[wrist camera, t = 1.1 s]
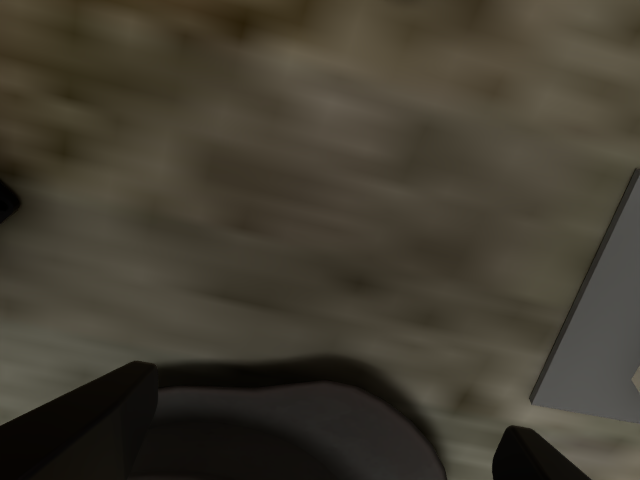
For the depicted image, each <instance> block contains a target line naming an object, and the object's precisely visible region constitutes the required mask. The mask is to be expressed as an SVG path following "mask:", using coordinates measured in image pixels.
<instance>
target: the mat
mask: <svg viewBox="0 0 640 480" xmlns="http://www.w3.org/2000/svg"><path fill="white" fill-rule="evenodd" d="M639 366H640V169H636V170H635V172H634V174H633V176H632V179H631V181H630V183H629V185H628V187H627V189H626V191H625V194H624V196H623V198H622V200H621V202H620V204H619V207H618V209H617V211H616V213H615V215H614V217H613V219H612V222H611V224H610V226H609V228H608V230H607V232H606V235H605V237H604V239H603V241H602V243H601V245H600V247H599V250H598V252H597V254H596V256H595V258H594V260H593V263H592V265H591V267H590V269H589V271H588V273H587V275H586V278H585V280H584V282H583V284H582V286H581V288H580V290H579V293H578V295H577V297H576V299H575V301H574V303H573V306H572V308H571V310H570V312H569V314H568V316H567V318H566V321H565V323H564V325H563V327H562V329H561V331H560V334H559V336H558V338H557V340H556V342H555V344H554V346H553V349H552V351H551V353H550V355H549V357H548V359H547V362H546V364H545V366H544V368H543V370H542V372H541V374H540V377H539V379H538V381H537V383H536V385H535V387H534V390H533V392H532V394H531V396H530V398H529V399H530V402H531V405H537V406H542V407H548V408H554V409H559V410H565V411H571V412H576V413H582V414H588V415H593V416H599V417H605V418H610V419H616V420H622V421H627V422H633V423H639V424H640V393H639V391H638V390H637V388H636V386H635V385H634V383H633V382H632V380H631V379H632V378H633V376H634V374H635V372H636V371H637V369H638V367H639Z"/></svg>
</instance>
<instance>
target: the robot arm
mask: <svg viewBox="0 0 640 480" xmlns="http://www.w3.org/2000/svg"><path fill="white" fill-rule="evenodd" d="M2 201H4V202H6V204H7V205H8V207H7V206H5V205H4V204H3V202H2ZM18 208H19V202H18V199H17V198H16V197H15V196H14V195H13V194H12V193H11V192H10V191H9V190H8V189H7V188H6V187H5V186H4V185H3V184H2V183H1V182H0V225H1V224H2V223H3V222H4V221H5V220H7V219H8V218H9V217H10V216H11V215H12V214H14V213H15V212H16V211H17V210H18ZM157 404H158V369H157V366H156V365H155V364H153V363H148V362H142V361H133V362H130V363H128V364H126V365H124V366H122V367H120V368H118V369H116V370H114V371H112V372H110V373H107V374H105V375H103V376H101V377H99V378H97V379H95V380H93V381H91V382H89V383H87V384H85V385H83V386H81V387H79V388H77V389H75V390H73V391H71V392H69V393H66V394H64V395H62V396H60V397H58V398H56V399H54V400H52V401H50V402H48V403H46V404H44V405H42V406H40V407H38V408H36V409H34V410H32V411H30V412H28V413H25V414H23V415H21V416H19V417H17V418H15V419H13V420H11V421H9V422H7V423H5V424H3V425H1V426H0V480H127V479H128V477H129V474H130V472H131V470H132V467H133V465H134V463H135V460H136V458H137V455H138V453H139V451H140V448H141V446H142V443H143V441H144V438H145V436H146V434H147V431H148V429H149V426H150V424H151V422H152V419H153V417H154V414H155V412H156V408H157ZM492 473H493V480H591V479H590V478H589V477H588V476H587V475H586V474H584V473H583V472H582V471H581V470H580V469H579V468H577V467H576V466H575V465H574V464H573V463H572V462H570V461H569V460H568V459H567V458H566V457H565V456H563V455H562V454H561V453H560V452H559V451H558V450H556V449H555V448H554V447H553V446H552V445H551V444H549V443H548V442H547V441H546V440H545V439H544V438H542V437H541V436H540V435H539V434H538V433H536V432H535V431H534V430H532V429H530V428H525V427H519V426H514V425H511V426H509V427H507V428H506V430H505V432H504V434H503V436H502V439H501V441H500V443H499V445H498V448H497V450H496V452H495V454H494V457H493V463H492Z"/></svg>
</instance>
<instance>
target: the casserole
mask: <svg viewBox="0 0 640 480" xmlns="http://www.w3.org/2000/svg"><path fill="white" fill-rule="evenodd" d="M127 480H447V477H446V473H445V469H444V467H443V465H442V463H441V461H440V459H439V457H438V455H437V453H436V451H435V450H434V448H433V446H432V444H431V443H430V442H429V441H428V439H427V438H426V437H425V436H424V435H423V434H422V433H421V432H420V430H419V429H418V428H417V427H416V426H415V425H414V424H413V422H412V421H411V420H409V419H408V418H407V417H405V416H404V415H403V414H402V413H400V412H399V411H398V410H396V409H395V408H394V407H393V406H391V405H390V404H389V403H387V402H386V401H385V400H383V399H381V398H379V397H377V396H375V395H373V394H371V393H369V392H367V391H365V390H363V389H361V388H359V387H357V386H353V385H348V384H343V383H338V382H333V381H329V380H321V381H312V382H303V383H294V384H284V385H275V386H266V387H257V388H242V387H213V386H181V385H178V386H171V387H164V388H158V404H157V408H156V412H155V414H154V417H153V419H152V422H151V424H150V426H149V429H148V431H147V434H146V436H145V438H144V441H143V443H142V446H141V448H140V451H139V453H138V455H137V458H136V460H135V463H134V465H133V467H132V470H131V472H130V474H129V477H128V479H127Z"/></svg>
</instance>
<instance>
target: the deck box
mask: <svg viewBox="0 0 640 480" xmlns="http://www.w3.org/2000/svg"><path fill="white" fill-rule="evenodd" d="M631 380H632V382H633V383H634V385H635V386H636V388H637V390H638V391H639V393H640V366H639V367H638V369H637V371H636V372H635V374H634V376H633V378H632V379H631Z"/></svg>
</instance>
